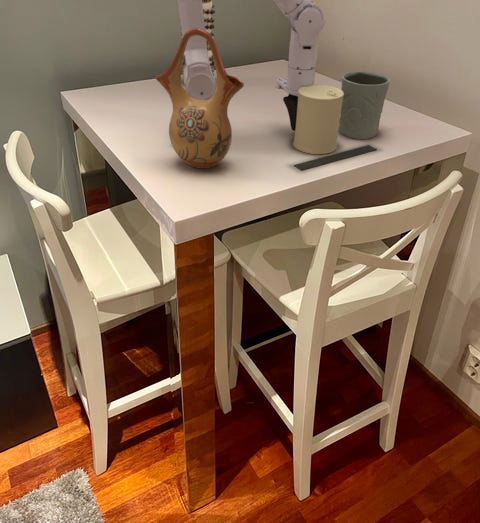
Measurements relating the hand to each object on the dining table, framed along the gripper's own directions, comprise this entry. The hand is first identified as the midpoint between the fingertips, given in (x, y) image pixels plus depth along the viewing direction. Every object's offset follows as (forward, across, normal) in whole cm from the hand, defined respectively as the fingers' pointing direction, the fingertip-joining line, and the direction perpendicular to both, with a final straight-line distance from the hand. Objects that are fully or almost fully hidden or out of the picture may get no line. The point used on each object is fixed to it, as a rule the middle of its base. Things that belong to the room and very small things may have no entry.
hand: (296, 129), depth 114 cm
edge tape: (+1, -14, 0) cm, 14 cm away
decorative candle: (+1, +44, 0) cm, 44 cm away
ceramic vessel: (+1, -3, +26) cm, 26 cm away
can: (+1, -7, 0) cm, 7 cm away
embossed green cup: (+1, -5, -14) cm, 15 cm away
